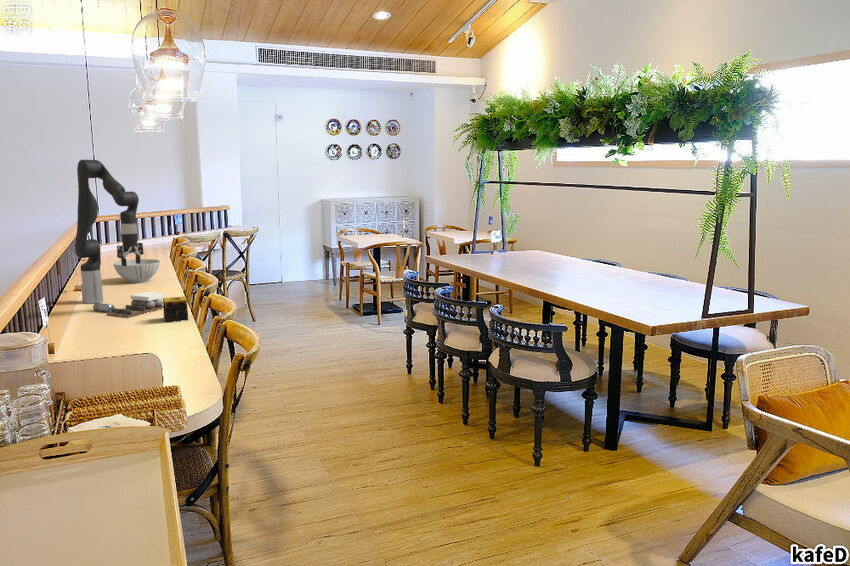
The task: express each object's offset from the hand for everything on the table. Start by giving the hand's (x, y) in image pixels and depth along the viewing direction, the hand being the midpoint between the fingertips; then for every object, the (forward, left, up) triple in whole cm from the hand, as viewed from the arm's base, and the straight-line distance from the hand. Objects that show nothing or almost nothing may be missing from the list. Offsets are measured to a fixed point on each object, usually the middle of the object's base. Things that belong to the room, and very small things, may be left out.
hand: (131, 264), depth 323 cm
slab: (+4, +4, -17) cm, 19 cm away
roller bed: (+4, -3, -23) cm, 23 cm away
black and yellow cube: (+34, -8, -23) cm, 42 cm away
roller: (-12, -9, -23) cm, 27 cm away
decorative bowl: (-64, +61, -23) cm, 91 cm away
